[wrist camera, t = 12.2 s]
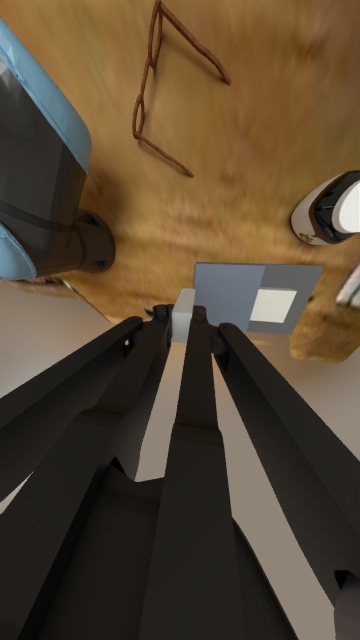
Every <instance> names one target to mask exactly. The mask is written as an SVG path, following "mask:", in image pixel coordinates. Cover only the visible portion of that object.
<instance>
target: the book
mask: <svg viewBox="0 0 360 640" xmlns="http://www.w3.org/2000/svg"><path fill="white" fill-rule="evenodd" d="M264 270H265V265H262V264H249V263H212V262H196V265H195V281H194V289H195V300H194V305H198V306H204V307H205V308H206V314H207V319H208V323H209V324H211V325H213V326H217V327H218V326H219V324H220V323H224V322H225V323H227V322H228V323H232V324H234V325H236V326H237V327H238V328H239V329H240V330H241V331H242V332H243V333H244V334H246V331H247V328H248V324H249V321H250V317H251V314H252V311H253V307H254V304H255V300H256V297H257V294H258V290H259V287H260V283H261V280H262V277H263V273H264Z"/></svg>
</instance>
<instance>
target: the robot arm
mask: <svg viewBox="0 0 360 640" xmlns="http://www.w3.org/2000/svg"><path fill="white" fill-rule="evenodd" d="M91 151H92V141H91V136H90V133H89V131H88V129H87V126H86V125H85V123H84V121H83V120H82V118H81V117H80V115H79V114H78V112H77V111H76V110H75V108H74V107H73V106H72V104H71V103H70V102H69V100H68V99H67V98H66V97H65V95H64V94H63V93H62V91H61V90H60V89H59V88H58V86H57V85H56V84H55V82H54V81H53V80H52V79H51V77H50V76H49V75H48V74H47V73H46V71H45V70H44V69H43V68H42V66H41V65H40V64H39V63H38V61H37V60H36V59H35V58H34V57H33V55H32V54H31V53H30V52H29V51H28V49H27V48H26V47H25V46H24V45H23V43H22V42H21V41H20V40H19V39H18V37H17V36H16V35H15V34H14V33H13V31H12V30H11V29H10V28H9V27H8V26H7V24H6V23H5V22H4V21H3V20H2V19H1V17H0V279H2V280H19V279H34V278H37V277H42V276H47V275H52V274H57V273H62V272H67V271H71V270H78V271H83V272H88V273H98V272H102V271H105V270H107V269H108V268H109V267H110V266H111V265H112V263H113V261H114V258H115V244H114V240H113V237H112V234H111V232H110V230H109V229H108V227H107V226H106V224H105V223H104V222H103V221H102V220H101V219H100V218H99V217H98V216H97V215H95V214H94V213H92V212H90V211H87V210H84V209H81V208H78V205H79V202H80V198H81V195H82V191H83V187H84V184H85V180H86V176H88V166H89V160H90V155H91ZM194 300H195V289H188V288H182V290H181V292H180V294H179V297H178V299H177V301H176V303H175V304H167V305H164V304H161V305H156V306H154V307H153V316H154V317H153V319H152V320H151V321H147V322H143V319H142V318H141V317H137V316H132V317H129V318H127V319H125V320H124V321H122V322H121V323H119V324H117V325H116V326H114V327H113V328H111V329H110V330H108V331H106V332H105V333H103V334H102V335H100V336H98V337H97V338H96V339H94V340H92V341H91V342H89V343H87V344H86V345H84V346H83V347H81V348H79V349H78V350H76V351H75V352H73V353H71V354H70V355H68V356H67V357H65V358H64V359H62V360H60V361H59V362H57V363H56V364H54V365H52V366H51V367H49V368H48V369H46V370H45V371H43V372H42V373H40V374H38V375H37V376H35V377H33V378H32V379H30V380H29V381H27V382H26V383H24V384H22V385H21V386H19V387H18V388H16V389H15V390H13V391H11V392H10V393H8V394H7V395H5V396H3V397H2V398H0V502H1V501H3V500H4V499H5V498H6V497H7V496H8V495H9V494H10V493H11V492H12V491H14V490H15V489H16V488H17V487H18V486H19V485H20V484H21V483H22V482H23V481H24V480H25V479H26V478H27V477H28V476H29V475H30V474H31V473H32V472H33V473H32V474H31V475H30V477H29V478H28V479H27V481H26V482H25V484H24V485H23V486H22V488H21V489H20V490H19V492H18V493H17V494H16V496H15V497H14V499H13V500H12V501H11V502H10V504H9V505H8V506H7V508H6V509H5V511H4V512H3V513H2V514H0V640H299V639H298V637H297V635H296V633H295V631H294V629H293V627H292V625H291V623H290V622H289V620H288V618H287V616H286V614H285V612H284V610H283V608H282V606H281V604H280V602H279V600H278V598H277V596H276V594H275V592H274V590H273V588H272V586H271V584H270V582H269V580H268V578H267V576H266V574H265V572H264V571H263V568H262V566H261V565H260V563H259V561H258V559H257V557H256V555H255V553H254V551H253V549H252V547H251V545H250V544H249V541H248V540H247V538H246V536H245V535H244V533H243V532H242V530H241V528H240V527H239V525H238V524H237V522H236V521H235V520H234V518H233V517H232V513H231V504H230V495H229V486H228V477H227V469H226V459H225V451H224V444H223V437H222V433H221V432H220V430H219V428H218V421H217V411H216V401H215V389H214V378H213V367H212V356H211V353H213V354H214V358H215V360H216V362H217V365H218V367H219V369H220V371H221V374H222V376H223V378H224V381H225V383H226V385H227V387H228V389H229V392H230V394H231V396H232V398H233V400H234V403H235V405H236V407H237V409H238V412H239V414H240V416H241V419H242V421H243V423H244V425H245V428H246V430H247V432H248V434H249V436H250V439H251V441H252V443H253V445H254V448H255V450H256V452H257V454H258V457H259V458H260V461H261V463H262V466H263V468H264V470H265V472H266V475H267V477H268V479H269V481H270V483H271V486H272V488H273V490H274V492H275V495H276V497H277V499H278V502H279V504H280V506H281V508H282V510H283V513H284V515H285V517H286V519H287V521H288V523H289V525H290V527H291V529H292V531H293V533H294V536H295V538H296V540H297V542H298V544H299V546H300V548H301V550H302V551H303V553H304V555H305V557H306V559H307V561H308V563H309V565H310V566H311V568H312V570H313V572H314V574H315V576H316V577H317V579H318V581H319V583H320V585H321V586H322V588H323V589H324V591H325V593H326V594H327V596H328V598H329V600H330V601H331V603H332V604H333V606H334V608H335V609H334V624H335V632H336V640H360V461H359V460H358V459H357V458H356V457H355V456H354V455H353V454H352V453H351V451H350V450H349V449H348V448H347V447H346V446H345V445H344V444H343V443H342V441H341V440H340V439H339V438H338V437H337V436H336V435H335V434H334V433H333V431H332V430H331V429H330V428H329V427H328V426H327V425H326V424H325V423H324V422H323V420H322V419H321V418H320V417H319V416H318V415H317V414H316V413H315V412H314V411H313V409H312V408H311V407H310V406H309V405H308V404H307V403H306V402H305V401H304V399H303V398H302V397H301V396H300V395H299V394H298V393H297V392H296V391H295V390H294V388H293V387H292V386H291V385H290V384H289V383H288V382H287V381H286V380H285V379H284V377H283V376H282V375H281V374H280V373H279V372H278V371H277V370H276V369H275V367H274V366H273V365H272V364H271V363H270V362H269V361H268V360H267V359H266V358H265V357H264V355H263V354H262V353H261V352H260V351H259V350H258V349H257V348H256V347H255V346H254V344H253V343H252V342H251V341H250V340H249V339H248V338H247V337H246V335H245V334H244V333H243V332H242V331H241V330H240V329H239V328H238V327H237V326H236V325H234V324H232V323H228V322H227V323H225V322H224V323H220V324H219V326H218V327H217V326H213V325H211V324H209V323H208V319H207V314H206V308H205V307H204V306H198V305H194ZM171 339H172V341H173V342H182V343H187V346H186V353H185V360H184V366H183V373H182V379H181V386H180V392H179V399H178V405H177V412H176V418H175V423H174V424H173V428H172V433H171V440H170V445H169V452H168V458H167V464H166V470H165V477H163V478H158V479H152V480H147V481H142V482H135V481H134V480H135V477H136V473H137V469H138V465H139V458H140V450H141V445H142V441H143V438H144V435H145V431H146V428H147V425H148V421H149V418H150V415H151V411H152V408H153V404H154V401H155V397H156V395H157V391H158V388H159V384H160V381H161V378H162V374H163V371H164V368H165V364H166V361H167V358H168V354H169V351H170V347H171ZM127 340H128V343H129V344H128V345H125V341H127Z"/></svg>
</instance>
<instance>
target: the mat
mask: <svg viewBox="0 0 360 640" xmlns="http://www.w3.org/2000/svg"><path fill="white" fill-rule="evenodd" d="M262 265H265V270H264V273H263V277H262V280H261V283H260V287H268V288H287V289H293V290H295V291H297V293H296V295H295V297H294V299H293V302H292V304H291V306H290V308H289V311H288V313H287V315H286V317H285V320H284V322H283V323H278V322H266V321H254V320H250V321H249V324H248V328H247V331H252V332H264V333H277V334H288V335H291V334H292V332H293V330H294V328H295V326H296V324H297V322H298V320H299V318H300V315H301V313H302V311H303V309H304V307H305V305H306V303H307V301H308V299H309V297H310V295H311V293H312V291H313V289H314V287H315V285H316V283H317V281H318V279H319V277H320V275H321V273H322V271H323V269H324V266H323V265H286V264H262Z"/></svg>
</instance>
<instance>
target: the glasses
mask: <svg viewBox="0 0 360 640" xmlns="http://www.w3.org/2000/svg"><path fill="white" fill-rule="evenodd" d="M158 12H159V30H158V39H157V45H156V50H155V54H154V58H153V60H152V40H153V32H154V26H155V21H156V17H157V13H158ZM163 15H164V16H165V17H166V18H167V19H168V21H169V22H170V23H171V24H172V25H173V26H174V27H175V28H176V29H177V30H178V31H179V32H180V33H181V34H182V35H183V36H184V37H185V38H186V39H187V40H188V42H189V43H190V44H191V45H192V46H193V47H194V48H195V49H196V50H197V51H198V52H199V53H201V54H202V55H203V56H205V57H206V58H207V59H208V60H209V61H210V62H211V63H213V64H214V65H215V66H216V68H217V69H218V71H219V73H220V74H221V76H222V77H223V79H224V80H225V82H226V83H228V84H229V85H230V84H231V79H230V78H229V76H228V75H227V73H226V71H225V70H224V68H223V67H222V65H221V63H220V62H219V60H218V59H217V58H216V57H215V56H214V55H213V54H212V53H211V52H210V51H209V50H208V49H207V48H205V47H204V46H203V45H202V44H200V43H199V42H198V41H197V40H196V38H195V37H194V36H193V35H192V34H191V33H190V32H189V31H188V30H187V29H186V28H185V27H184V26H183V24H182V23H181V22H180V21H179V20H178V19H177V18H176V17H175V16H174V15H173V14H172V13H171V12H170V11H169V9H168V8H167V7H166V6H165V5H164V4H163V3H162V2H161V0H156V2H155V5H154V9H153V13H152V19H151V25H150V33H149V44H148V57H147V60H146V64H145V69H144V74H143V79H142V85H141V94H139V95H138V97H137V100H136V103H135V108H134V114H133V125H132V127H133V136H134V138H135V139H137V140H138V139H139V138H140V139H141V140H143V141H144V142H146V143H147V144H148V145H150V146H151V147H152V148H154V149H155V150H156V151H158V152H159V153H160V154H162V155H163V156H164V157H166V158H167V159H169V160H171V161H172V162H174V163H175V164H177V165H178V166H180V167H181V168H182V169H183V170H184V171H185V172H186V173H188V174H189V175H190V176H191V177H192V178H193V177H194V175H193V174H191V173H190V172H189V171H188V170H187V169H186V168H185V167H184V166H183V165H181V164H180V163H179V162H178V161H176V160H175V159H174V158H172V157H171V156H169V155H167V154H166V153H165V152H163V151H162V150H161V149H159V148H158V147H157V146H155V145H154V144H153V143H151V142H150V141H149V140H147V139H146V138H145V137H143V136H142V135H141V130H142V126H143V120H144V100H143V95H144V89H145V84H146V79H147V74H148V69H149V65H150V66H151V67H152V68H153V69H154V67H155V65H156V61H157V57H158V52H159V48H160V42H161V34H162V21H163ZM140 103H141V121H140V126H139V130H138V132H137V131H136V117H137V111H138V107H139V104H140Z"/></svg>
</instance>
